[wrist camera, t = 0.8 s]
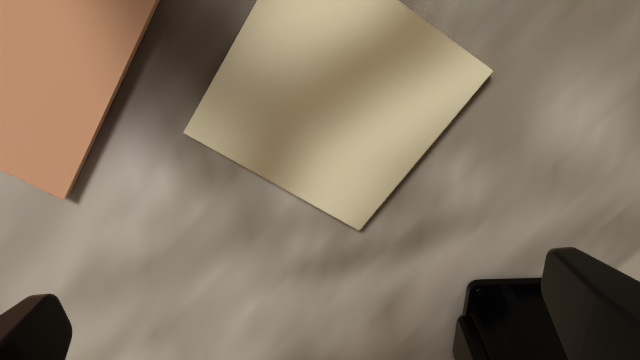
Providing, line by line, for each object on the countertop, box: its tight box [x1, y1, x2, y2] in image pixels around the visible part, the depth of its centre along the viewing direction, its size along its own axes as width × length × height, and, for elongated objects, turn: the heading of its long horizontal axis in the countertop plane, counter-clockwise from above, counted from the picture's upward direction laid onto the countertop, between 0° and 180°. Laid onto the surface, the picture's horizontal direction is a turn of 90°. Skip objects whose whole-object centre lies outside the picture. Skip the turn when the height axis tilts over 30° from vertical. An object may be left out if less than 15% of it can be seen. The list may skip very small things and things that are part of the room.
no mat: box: [183, 0, 493, 230], centre depth 19 cm, size 9×9×1 cm
